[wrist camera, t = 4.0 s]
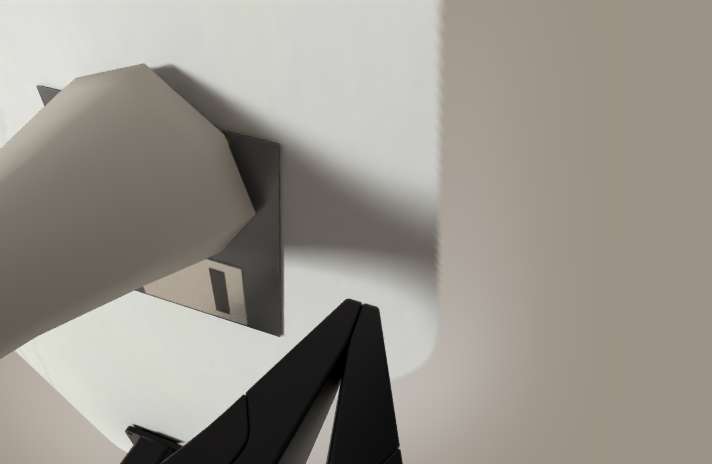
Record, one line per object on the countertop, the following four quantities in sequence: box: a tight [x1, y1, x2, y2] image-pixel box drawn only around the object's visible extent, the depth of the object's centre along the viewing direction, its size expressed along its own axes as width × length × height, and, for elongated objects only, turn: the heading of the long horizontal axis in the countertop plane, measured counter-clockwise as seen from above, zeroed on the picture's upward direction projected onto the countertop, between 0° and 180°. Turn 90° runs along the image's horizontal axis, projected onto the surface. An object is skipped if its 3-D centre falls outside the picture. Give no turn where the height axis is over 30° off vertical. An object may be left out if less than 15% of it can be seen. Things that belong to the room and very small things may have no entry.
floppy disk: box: [36, 85, 281, 337], centre depth 15 cm, size 10×9×1 cm
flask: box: [0, 64, 256, 359], centre depth 9 cm, size 7×7×10 cm
